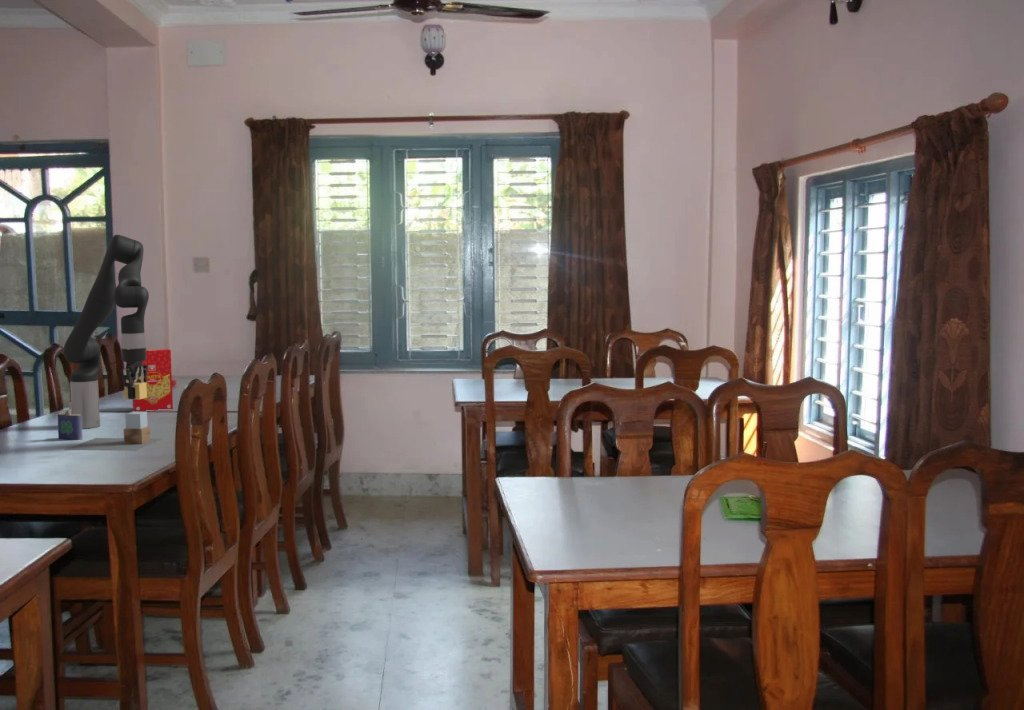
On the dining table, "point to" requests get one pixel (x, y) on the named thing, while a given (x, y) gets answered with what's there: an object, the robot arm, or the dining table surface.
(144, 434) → the tower base
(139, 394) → the ochre block
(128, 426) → the tower mid
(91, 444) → the slate mat
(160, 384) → the food packaging
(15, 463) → the dining table surface
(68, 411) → the flask
